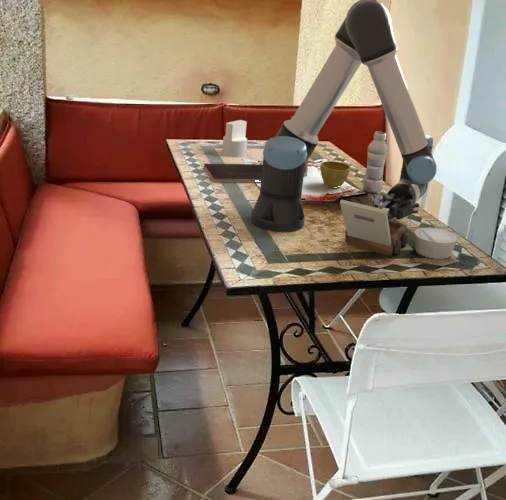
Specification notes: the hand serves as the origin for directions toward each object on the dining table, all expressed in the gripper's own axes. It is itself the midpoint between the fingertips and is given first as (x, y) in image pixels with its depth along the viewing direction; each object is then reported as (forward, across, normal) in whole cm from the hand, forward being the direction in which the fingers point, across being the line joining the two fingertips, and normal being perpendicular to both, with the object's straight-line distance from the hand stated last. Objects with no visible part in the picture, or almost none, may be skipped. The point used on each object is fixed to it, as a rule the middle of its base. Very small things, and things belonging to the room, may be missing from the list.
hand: (378, 220), depth 176 cm
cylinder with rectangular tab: (-65, +74, -11) cm, 99 cm away
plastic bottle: (-55, +18, -11) cm, 59 cm away
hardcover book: (-42, +59, -12) cm, 74 cm away
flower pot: (-53, +30, -11) cm, 62 cm away
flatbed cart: (-11, +2, -11) cm, 16 cm away
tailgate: (-4, +3, -7) cm, 9 cm away
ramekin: (-15, -12, -11) cm, 22 cm away
